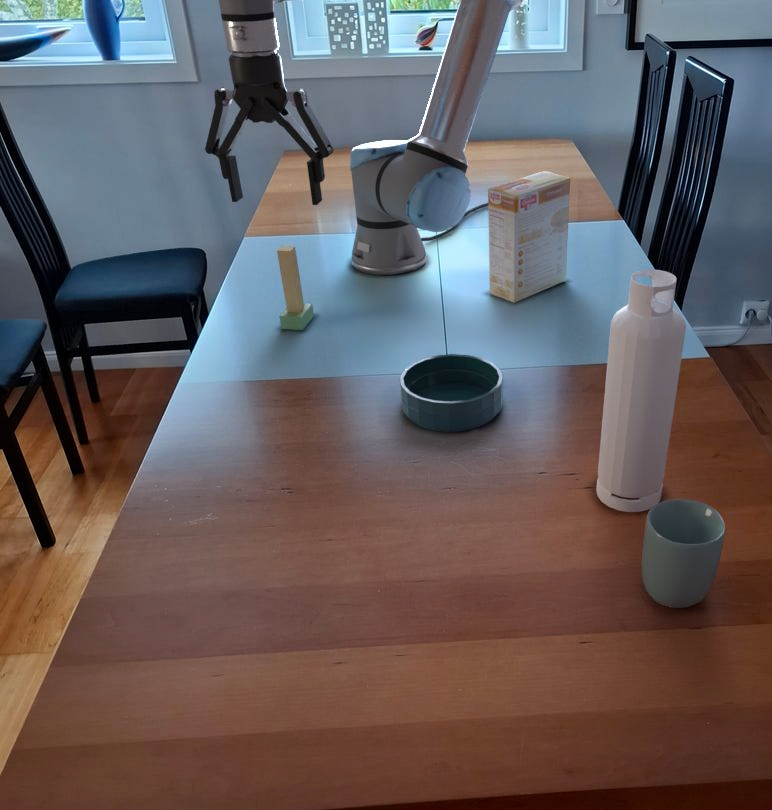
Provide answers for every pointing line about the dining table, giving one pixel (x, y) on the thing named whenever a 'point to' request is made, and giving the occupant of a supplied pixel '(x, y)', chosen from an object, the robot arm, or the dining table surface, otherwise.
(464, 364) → the bowl
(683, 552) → the cup
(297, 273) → the brush
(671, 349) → the bottle
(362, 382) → the dining table surface
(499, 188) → the coffeecake box
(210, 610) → the dining table surface
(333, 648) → the dining table surface
